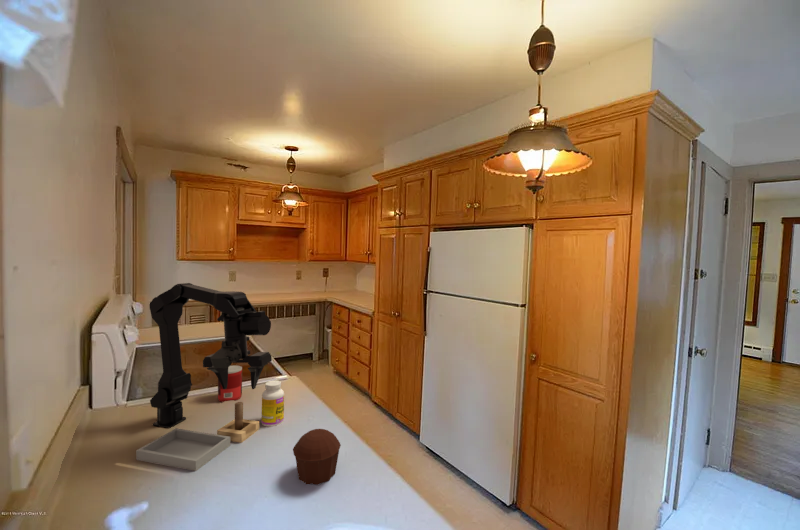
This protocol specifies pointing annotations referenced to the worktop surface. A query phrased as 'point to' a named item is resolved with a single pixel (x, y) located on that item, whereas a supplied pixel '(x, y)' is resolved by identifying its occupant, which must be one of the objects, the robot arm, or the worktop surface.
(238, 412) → the pin
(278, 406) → the supplement bottle
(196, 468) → the tray
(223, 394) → the canned food
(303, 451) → the muffin
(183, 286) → the robot arm
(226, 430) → the holder
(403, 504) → the worktop surface
